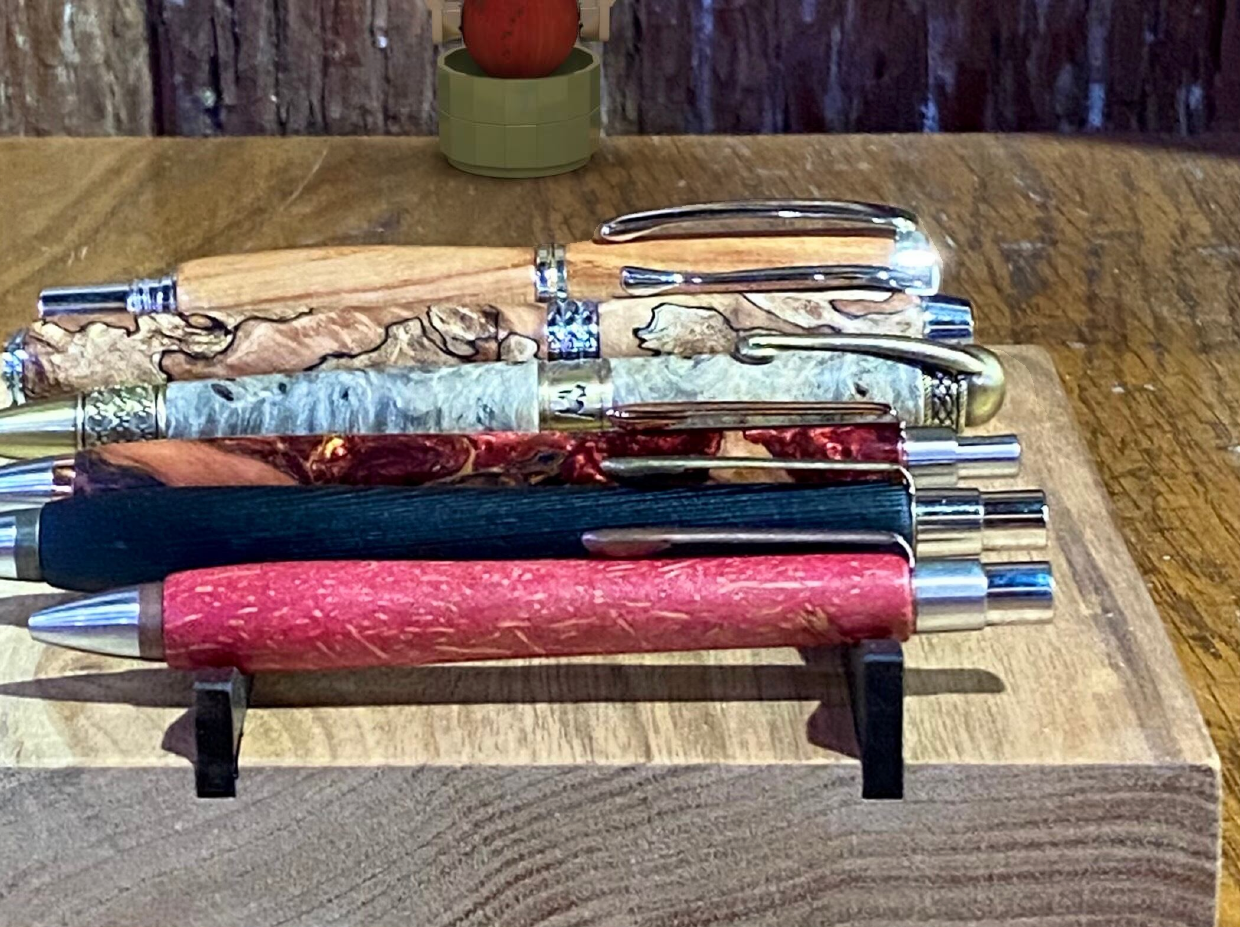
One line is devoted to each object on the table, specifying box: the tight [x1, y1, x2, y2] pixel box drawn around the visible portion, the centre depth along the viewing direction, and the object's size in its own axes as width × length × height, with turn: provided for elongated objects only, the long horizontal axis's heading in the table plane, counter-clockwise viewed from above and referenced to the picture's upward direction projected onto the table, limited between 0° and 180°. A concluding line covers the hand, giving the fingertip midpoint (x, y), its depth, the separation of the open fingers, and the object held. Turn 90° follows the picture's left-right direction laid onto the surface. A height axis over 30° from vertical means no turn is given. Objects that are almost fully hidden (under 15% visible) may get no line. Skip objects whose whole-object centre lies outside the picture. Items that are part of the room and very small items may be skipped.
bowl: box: [437, 44, 601, 179], centre depth 114 cm, size 8×8×5 cm
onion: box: [461, 0, 580, 79], centre depth 112 cm, size 6×6×8 cm
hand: (520, 41), depth 112 cm, fingers closed on onion, 6 cm apart
